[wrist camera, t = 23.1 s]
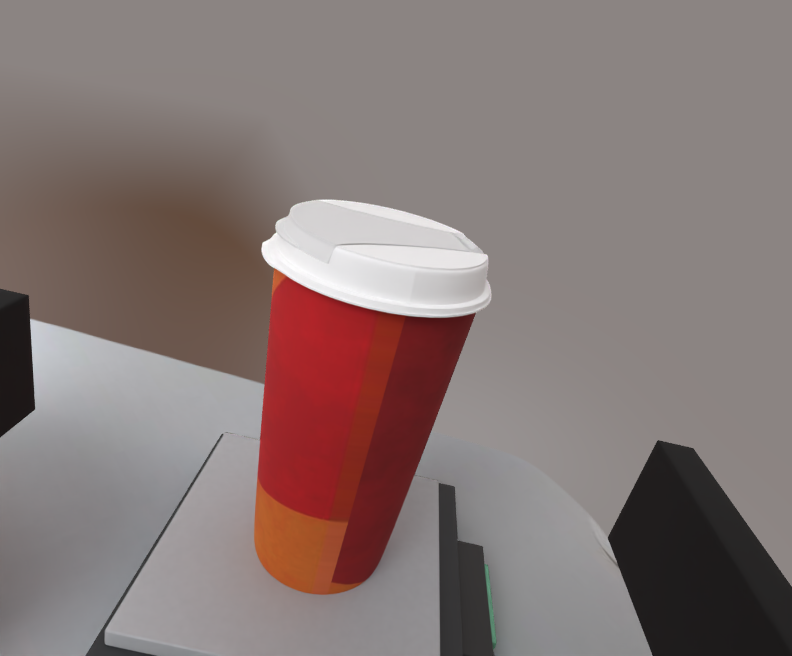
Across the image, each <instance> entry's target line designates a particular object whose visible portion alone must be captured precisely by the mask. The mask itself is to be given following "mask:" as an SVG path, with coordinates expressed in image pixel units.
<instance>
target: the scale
mask: <svg viewBox="0 0 792 656" xmlns="http://www.w3.org/2000/svg"><path fill="white" fill-rule="evenodd" d="M259 449H260V440H258V439H254V438H249V437H245V436H240V435H236V434H232V433H227V432H225V433H224V434H221V436H220V438H219V439H218V441H217V443H216V444H215V446H214V447H213V449H212V451H211V452H210V454H209V456H208V457H207V459H206V460H205V462H204V464H203V465H202V467H201V469H200V470H199V472H198V473H197V475H196V477H195V478H194V480H193V482H192V483H191V485H190V487H189V488H188V490H187V491H186V493H185V495H184V496H183V498H182V500H181V501H180V503H179V504H178V506H177V508H176V509H175V511H174V513H173V514H172V516H171V517H170V519H169V521H168V522H167V524H166V526H165V527H164V529H163V531H162V532H161V534H160V535H159V537H158V539H157V540H156V542H155V544H154V545H153V547H152V548H151V550H150V552H149V553H148V555H147V557H146V558H145V560H144V561H143V563H142V565H141V566H140V568H139V570H138V571H137V573H136V575H135V576H134V578H133V579H132V581H131V583H130V584H129V586H128V588H127V589H126V591H125V592H124V594H123V596H122V597H121V599H120V601H119V602H118V604H117V605H116V607H115V609H114V610H113V612H112V614H111V615H110V617H109V619H108V620H107V622H106V623H105V625H104V627H103V628H102V630H101V632H100V633H99V635H98V636H97V638H96V640H95V641H94V643H93V645H92V646H91V648H90V649H89V651H88V653H87V654H86V656H494V652H493V650H494V648H495V646H496V634H495V625H494V616H493V607H492V598H491V589H490V580H489V571H488V565H486V564H484V556H483V547H482V546H479V545H474V544H470V543H466V542H461V541H457V521H456V501H455V487H454V486H450V485H445V484H441V483H439V482H438V480H434V479H429V478H425V477H421V476H416V475H414V477H413V480H412V483H411V485H410V488H409V490H408V493H407V496H406V498H405V501H404V503H403V506H402V508H401V511H400V514H399V516H398V519H397V521H396V524H395V526H394V529H393V531H392V534H391V536H390V539H389V541H388V544H387V546H386V549H385V551H384V553H383V555H382V558H381V560H380V562H379V564H378V566H377V567H376V569H375V571H374V572H373V573H372V575H371V576H370V577H369V578H368V579H367V580H366V581H364V582H363V583H362V584H360V585H359V586H357V587H355V588H353V589H351V590H348V591H345V592H341V593H337V594H329V595H318V594H309V593H304V592H301V591H298V590H295V589H292V588H290V587H288V586H286V585H284V584H282V583H281V582H279V581H278V580H276V579H275V578H274V577H273V576H271V575H270V574H269V573H268V571H267V570H266V569H265V568H264V567H263V565H262V564H261V562H260V560H259V558H258V555H257V553H256V549H255V542H254V522H255V504H256V489H257V475H258V461H259Z"/></svg>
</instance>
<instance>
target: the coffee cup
mask: <svg viewBox="0 0 792 656" xmlns="http://www.w3.org/2000/svg"><path fill="white" fill-rule="evenodd" d="M275 227H276V232H277V233H275V234H274V235H273V236H272V238H271V239H269V240H267V241H265V242H263V244H262V250H261V251H262V254H263V257H264V259H265V260H266V261H267V263H268V264H269V265H271V266H272V267H274V278H273V289H272V302H271V313H270V326H269V339H268V351H267V363H266V374H265V386H264V398H263V411H262V423H261V436H260V449H259V461H258V475H257V489H256V504H255V522H254V542H255V549H256V553H257V555H258V558H259V560H260V562H261V564H262V565H263V567H264V568H265V569H266V570H267V571H268V573H269V574H270V575H271V576H273V577H274V578H275V579H276V580H278V581H279V582H281V583H282V584H284V585H286V586H288V587H290V588H292V589H295V590H298V591H301V592H304V593H309V594H318V595H329V594H337V593H341V592H345V591H348V590H351V589H353V588H355V587H357V586H359V585H360V584H362V583H363V582H364V581H366V580H367V579H368V578H369V577H370V576H371V575H372V573H373V572H374V571H375V569H376V567H377V566H378V564H379V562H380V560H381V558H382V555H383V553H384V551H385V549H386V546H387V544H388V541H389V539H390V536H391V534H392V531H393V529H394V526H395V524H396V521H397V519H398V516H399V514H400V511H401V508H402V506H403V503H404V501H405V498H406V496H407V493H408V490H409V488H410V485H411V483H412V480H413V477H414V475H415V472H416V469H417V467H418V464H419V462H420V459H421V456H422V454H423V451H424V449H425V446H426V443H427V441H428V438H429V435H430V433H431V430H432V427H433V425H434V422H435V420H436V417H437V414H438V411H439V409H440V406H441V404H442V401H443V398H444V396H445V393H446V391H447V388H448V385H449V383H450V380H451V377H452V375H453V372H454V369H455V366H456V364H457V361H458V359H459V356H460V353H461V351H462V348H463V346H464V343H465V340H466V338H467V335H468V332H469V330H470V327H471V324H472V322H473V319H474V317H475V314H476V312H478V311H480V310H482V309H484V308H485V307H486V306H488V304H489V302H490V301H491V297H492V296H491V288H490V285H489V283H488V281H487V279H486V278H487V272H488V257H487V254H483V251H482V250H481V249H479V247H477V246H476V245H475V244H474V243H473V242H472V241H471V240H469V239H468V238H466V237H465V234H463V233H461V232H459V231H457V230H455V229H453V228H451V227H448V226H446V225H444V224H441V223H438V222H436V221H433V220H430V219H427V218H424V217H421V216H418V215H414V214H411V213H407V212H404V211H400V210H395V209H391V208H387V207H382V206H377V205H372V204H366V203H359V202H351V201H342V200H341V201H340V200H313V201H307V202H303V203H298V204H296V205H294V206H293V207H292V208H291V209H290V213H289V215H288V216H287V217H285V218H282V219H280V220H279V221H277V223H276V226H275Z"/></svg>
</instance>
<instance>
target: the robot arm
mask: <svg viewBox="0 0 792 656" xmlns="http://www.w3.org/2000/svg"><path fill="white" fill-rule="evenodd" d="M34 410H35V399H34V382H33V364H32V347H31V330H30V314H29V296H28V295H25V294H20V293H16V292H11V291H7V290H3V289H0V437H1V436H3V435H4V434H5V433H6V432H8V431H9V430H10V429H11V428H12V427H14V426H15V425H16V424H17V423H19V422H20V421H21V420H22V419H24V418H25V417H26V416H27V415H29V414H30V413H31V412H32V411H34ZM608 540H609V542H610V545H611V547H612V550H613V553H614V555H615V558H616V561H617V563H618V566H619V568H620V571H621V574H622V576H623V579H624V582H625V584H626V587H627V589H628V592H629V595H630V597H631V600H632V602H633V605H634V608H635V610H636V613H637V616H638V618H639V621H640V623H641V626H642V629H643V631H644V634H645V637H646V639H647V642H648V644H649V647H650V650H651V652H652V655H653V656H792V587H791V585H790V584H789V582H788V581H787V580H786V578H785V577H784V575H783V574H782V573H781V571H780V570H779V568H778V567H777V566H776V564H775V563H774V561H773V560H772V558H771V557H770V556H769V554H768V553H767V551H766V550H765V549H764V547H763V546H762V544H761V543H760V542H759V540H758V539H757V537H756V536H755V535H754V533H753V532H752V530H751V529H750V528H749V526H748V525H747V523H746V522H745V521H744V519H743V518H742V516H741V515H740V513H739V512H738V511H737V509H736V508H735V506H734V505H733V504H732V502H731V501H730V499H729V498H728V497H727V495H726V494H725V492H724V491H723V490H722V488H721V487H720V485H719V484H718V483H717V481H716V480H715V478H714V477H713V476H712V474H711V473H710V471H709V470H708V468H707V467H706V466H705V464H704V463H703V461H702V460H701V459H700V457H699V456H698V454H697V453H696V452H695V450H694V449H693V448H689V447H685V446H681V445H676V444H672V443H667V442H663V441H659V440H658V441H657V443H656V445H655V447H654V449H653V450H652V453H651V454H650V456H649V458H648V460H647V462H646V464H645V466H644V468H643V470H642V472H641V474H640V476H639V478H638V480H637V482H636V484H635V486H634V488H633V490H632V492H631V493H630V495H629V497H628V499H627V501H626V503H625V505H624V507H623V509H622V511H621V513H620V515H619V517H618V519H617V521H616V523H615V525H614V527H613V529H612V531H611V532H610V534H609V536H608Z"/></svg>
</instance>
